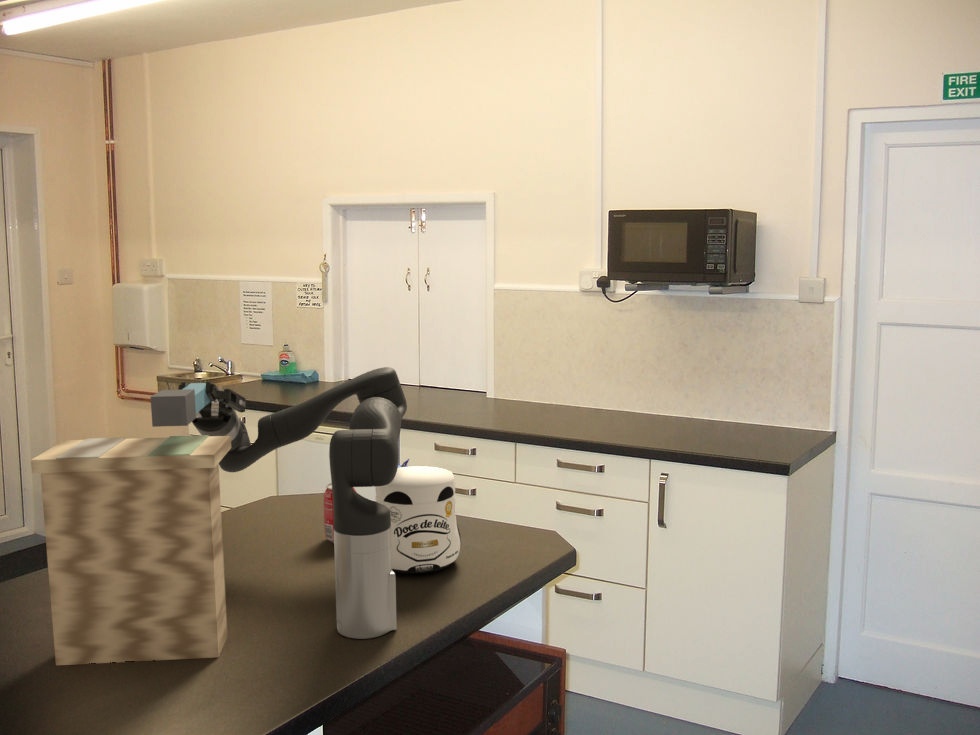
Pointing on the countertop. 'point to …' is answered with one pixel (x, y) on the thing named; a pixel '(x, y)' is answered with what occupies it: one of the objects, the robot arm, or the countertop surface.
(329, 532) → the soda can
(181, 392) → the two-tone rectangular bar
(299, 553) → the countertop surface
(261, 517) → the countertop surface
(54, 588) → the wavy striped plinth
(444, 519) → the doce de leite tub
